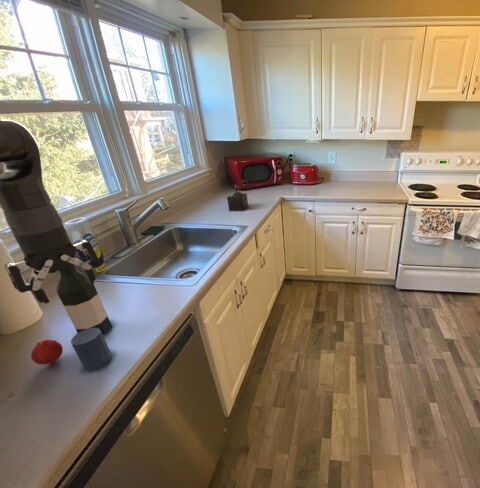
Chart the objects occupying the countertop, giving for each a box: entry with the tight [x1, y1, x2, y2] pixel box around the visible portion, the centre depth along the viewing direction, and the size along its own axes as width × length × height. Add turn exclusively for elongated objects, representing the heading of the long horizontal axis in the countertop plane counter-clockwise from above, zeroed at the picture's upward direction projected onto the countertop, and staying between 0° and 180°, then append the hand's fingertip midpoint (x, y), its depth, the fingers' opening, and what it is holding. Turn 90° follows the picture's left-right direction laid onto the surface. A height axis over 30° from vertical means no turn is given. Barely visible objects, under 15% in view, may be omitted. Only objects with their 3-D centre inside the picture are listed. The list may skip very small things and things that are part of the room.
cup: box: [70, 328, 113, 372], centre depth 73 cm, size 6×6×9 cm
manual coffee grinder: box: [226, 179, 249, 212], centre depth 190 cm, size 16×11×18 cm
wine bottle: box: [55, 264, 113, 336], centre depth 79 cm, size 8×8×30 cm
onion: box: [30, 339, 64, 365], centre depth 73 cm, size 6×6×8 cm
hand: (69, 292), depth 64 cm, fingers open, 8 cm apart
